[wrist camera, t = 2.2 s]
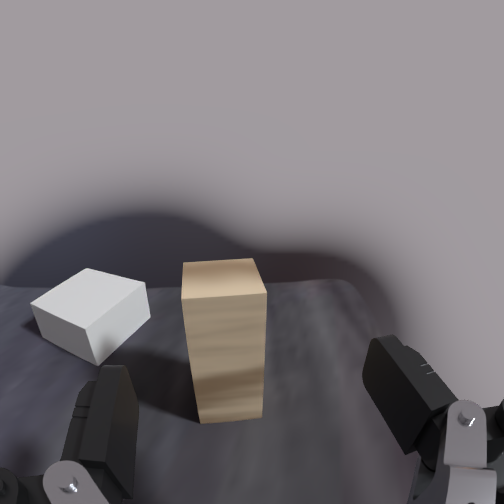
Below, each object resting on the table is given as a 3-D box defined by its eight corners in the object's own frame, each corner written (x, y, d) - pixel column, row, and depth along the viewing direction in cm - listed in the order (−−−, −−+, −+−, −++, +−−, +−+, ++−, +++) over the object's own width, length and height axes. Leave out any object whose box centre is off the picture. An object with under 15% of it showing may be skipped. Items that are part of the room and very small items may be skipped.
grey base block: (43, 338, 31) (30, 303, 29) (94, 300, 40) (86, 268, 38) (98, 368, 28) (85, 328, 26) (150, 319, 37) (144, 282, 35)
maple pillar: (261, 417, 24) (266, 292, 19) (200, 423, 23) (181, 298, 18) (251, 376, 28) (252, 258, 23) (197, 381, 27) (183, 262, 23)
